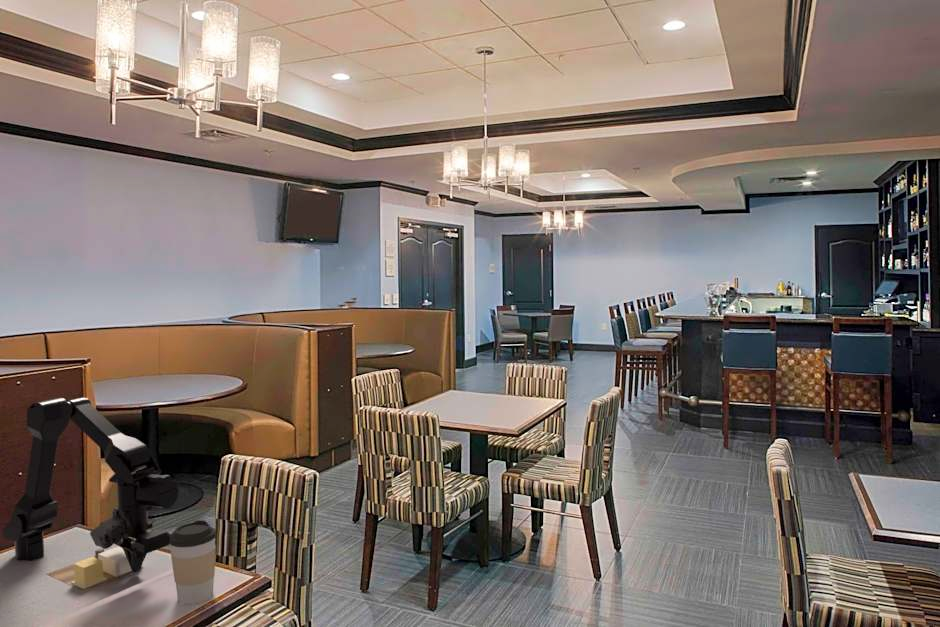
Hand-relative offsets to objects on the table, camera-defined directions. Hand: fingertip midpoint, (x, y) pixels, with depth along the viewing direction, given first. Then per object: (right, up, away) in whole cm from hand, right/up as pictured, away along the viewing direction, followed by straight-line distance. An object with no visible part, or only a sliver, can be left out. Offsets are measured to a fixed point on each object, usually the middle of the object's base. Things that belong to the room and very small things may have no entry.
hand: (135, 571), depth 147 cm
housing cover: (-5, -1, +3) cm, 6 cm away
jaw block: (-9, -1, -3) cm, 9 cm away
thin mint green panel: (-9, -2, -3) cm, 9 cm away
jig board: (-10, -2, +3) cm, 11 cm away
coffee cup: (+16, -2, -8) cm, 18 cm away
